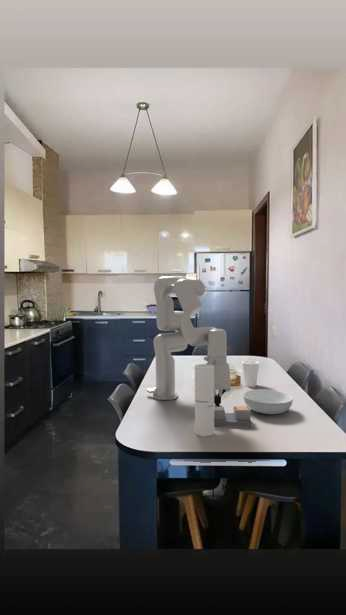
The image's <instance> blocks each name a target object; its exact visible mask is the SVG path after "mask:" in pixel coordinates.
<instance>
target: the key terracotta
mask: <svg viewBox="0 0 346 615" xmlns="http://www.w3.org/2000/svg"><path fill="white" fill-rule="evenodd" d="M235 406H236V411H248V408H249V407H248V408H247V405H246V406H243V405H242V406H237V405H235Z"/></svg>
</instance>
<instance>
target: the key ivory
mask: <svg viewBox="0 0 346 615" xmlns="http://www.w3.org/2000/svg"><path fill="white" fill-rule="evenodd" d="M223 407H224V406H223V403H222V402H221V404H220V406H218V405H217V406H215V404H214V411H223Z"/></svg>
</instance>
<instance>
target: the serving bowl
mask: <svg viewBox="0 0 346 615" xmlns="http://www.w3.org/2000/svg"><path fill="white" fill-rule="evenodd" d="M243 400H244V403H245V405H246V406H248V408H249V409H250V410H253V411H254V412H258V413H260V414H264V415H277V414H278V415H279V414H282V413H285V412H288V410H289V409H291V407H292V404H293V401H294V398H293V396H292V395H290V394H289V393H287V392H284V391H279V390H273V389H262V388H261V389H259V388H258V389H251V390H250V389H249V390H246V391H245V392H244V393H243Z"/></svg>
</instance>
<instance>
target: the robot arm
mask: <svg viewBox="0 0 346 615" xmlns="http://www.w3.org/2000/svg"><path fill="white" fill-rule="evenodd" d="M205 291H206V287H205V284H204V282H203V281H202V280H201V279H199V278H193V277H190V276H173V275H171V276H160V277H158V278H157V279H156V280H155V282H154V283H153V293H154V297H155V301H156V303H155V304H156V308H155V309H156V327H157V329H158V330H159V331H163V332H164V331H165V332H164V333H159V334H157V335H156V336H155V337H154V338H153V349H154V354H155V386H154V387H153V388H152V387H151V388H150V387H149V388H147V389H146V393H149V394H152V398H153V399H155V400H158V401H160V400H161V401H170V400H175V399H177V398H179V394H178V392H176V365H175V364H176V361H175V359H174V357H173V356H172V354H171V353H175V352H183V351H185V350H186V349H187V348H188V345H189V346H192V347H199V346H207V355H206V356H203V361H206V363H205V364H209V365H213V366H214V404H215V406H217V405H218V406H220V404H221V403H222V396H223V395H224V394H225V393H227V392H230V391H231V390H232V389H231V370H230V364H229V362H227V361H228V360H227V359H228V357H227V348H228V346H227V337H228V336H227V331H226V330H225V329H223V328H216V327H214V326H199V327H194V325H193V323H192V320H191V317H192V316H195V315H197V314H198V313H199V312H200V311H201V310H202V308H203V304H202V302H201V300H200V298H201V297H203V296H204V294H205ZM171 295H176V298H177V300H178V301H179V304H180V307H181V309H182V310H175V309H174V308H175V307H174V305H175V304H174V301H173V300H174V299H173V298H172V297H171ZM167 331H174V332H167ZM216 390H218V392H216Z"/></svg>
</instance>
